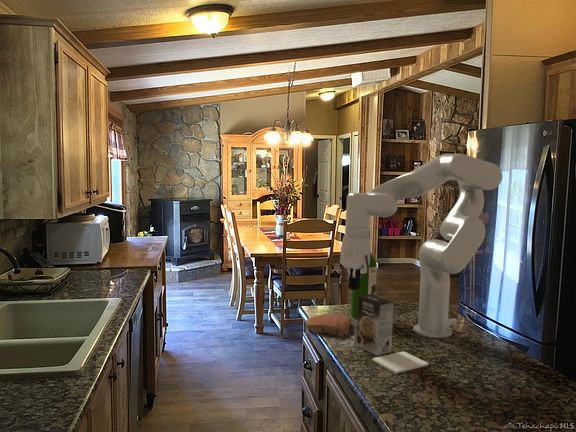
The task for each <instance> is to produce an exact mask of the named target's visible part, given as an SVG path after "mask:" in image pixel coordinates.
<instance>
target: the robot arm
mask: <svg viewBox="0 0 576 432" xmlns="http://www.w3.org/2000/svg"><path fill="white" fill-rule="evenodd" d="M502 180H503V171H502V170H501V168H500V167H499V166H498V165H496V164H495V163H492V162H489V161H486V160H482V159H479V158H477V157H474V156H470V155H468V154H463V153H444V154H440V155H438V156H435V158H433V159H431V160H429V161H427V162H425V163H424V164H422V165H421V166H418V167H416V168H415V169H413V170H412V171H409V172H407V173H405V174H403V175H400V176H398V177H395V178H394V179H391V180H387V181H386V182H384V183H382V184H380V185H377V186H376V187H375V188H373V189H371V190H369V191H368V192H366V193H365V192H350V193H348V194H347V196H346V207H345V209H346V212H345V226H344V227H345V228H344V235H343V237H342V242H341V246H340V256H339V263H340V265H342V266H343V268H344V269H346V271H347V276H348V289H349V290H350V291H352V290H356V289H359V287H360V277H361V276H362V274H366V273H367V268H369V265H370V252H371V242H370V241H371V240H370V241H369V230H370V224H371V217H372V216H374V217H377V218H378V217H379V218H388V217H391V216H392V215H394V214H395V213H396V212H397V209H398V205H399V204H398V201H402V200H404V199H405V200H406V199H412V198H417V197H421V196H424V195H425V194H428V193H429V192H430V191H432V190H434V189H437V188H438V187H440V186H441V185H443V184H444V183H446V182H448V181H457V183H458V189H459V195H458V199H457V200H456V202H455V204H454V206H453V207H452V208H451V210H450V211H449V212H448V214H447V215H446V217H445V218H444V220H443V221H442V223H441V225H440V227H439V233H440V235H441V237H443V238H444V239H445V240H446V241H445V240H440V239H435V238H433V239H432V238H431V239H429V240H428V239H427V240H426V241H425V242H423V244H421V246H420V247H419V248H420V249H419V252H418V259H419V268H420V283H419V284H420V285H419V286H420V287H419V302H418V303H419V305H418V306H419V307H418V323H417V324H415V325H414V326H413V332H414V333H415V334H418V335H420V336H422V337H425V338H432V339H446V338H449V337H451V336H452V334H453V330H452V329H451V328H450V326H451V325H456V324H457V323H458V320H457V319H456V318H449V308H450V289H451V278H450V275H454V274H455V275H456V274H458V273H460V272H462V271H463V270H464V269H465V268H466V267H467V265H469V263H470V261H471V260H472V258H473V257H474V255H476V252H477V251H478V249H479V248H480V246H481V245H482V244H483V241H484V240H485V236H486V225H485V223H484V222H483V221H482V219H480V218H479V217H480V215H481V214H482V211H483V209H484V206H485V196H484V191H491V190H494V189H496V188H498V187H499V186H500V185H501V183H502ZM447 241H449V242H447Z"/></svg>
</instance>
